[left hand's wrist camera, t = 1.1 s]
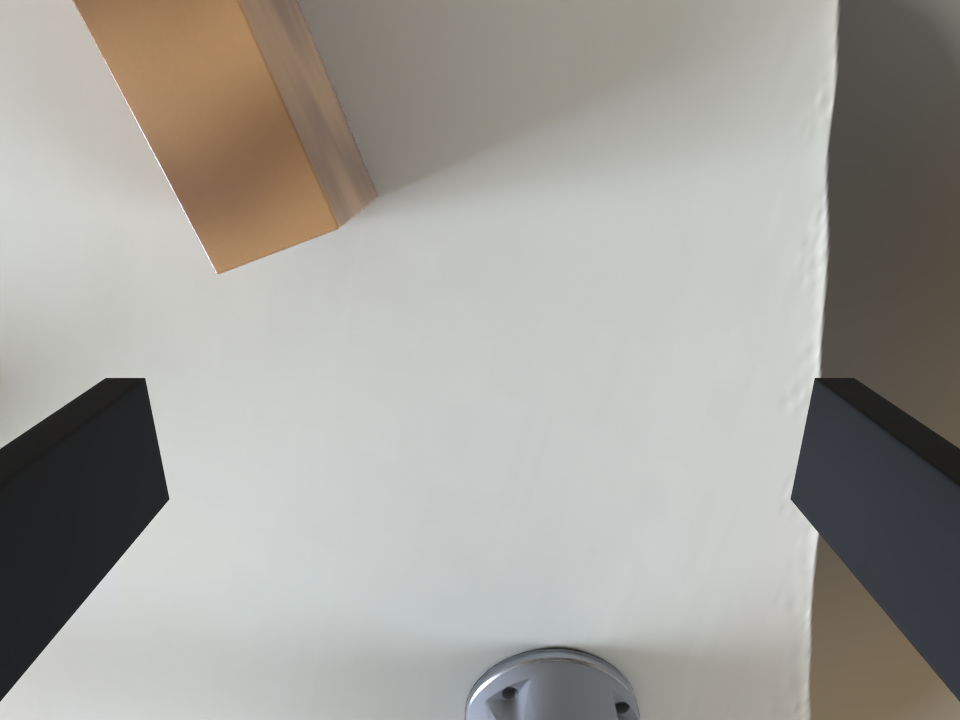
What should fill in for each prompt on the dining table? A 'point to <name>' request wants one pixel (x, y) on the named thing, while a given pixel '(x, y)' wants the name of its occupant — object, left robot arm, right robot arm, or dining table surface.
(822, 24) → the dining table surface
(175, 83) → the box
